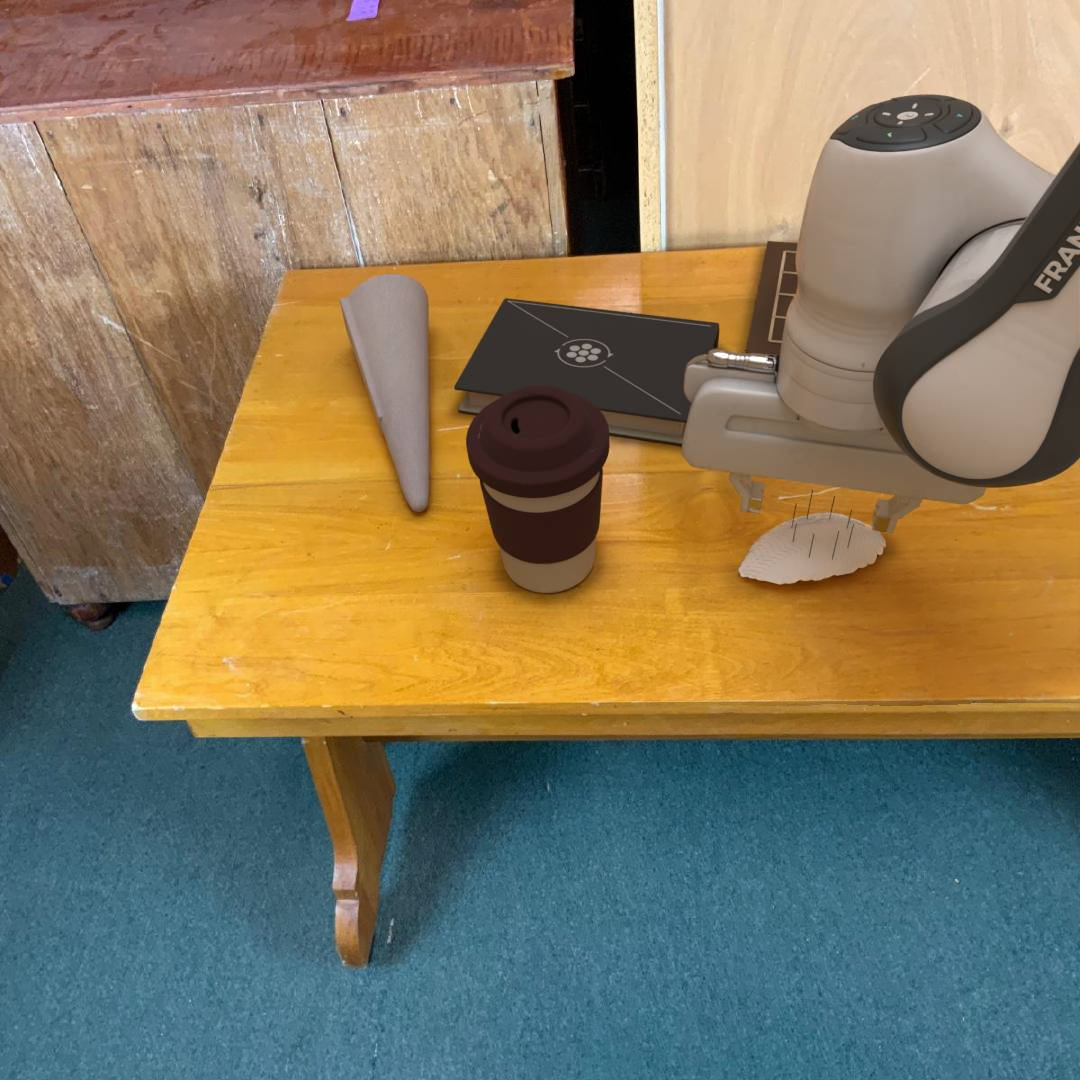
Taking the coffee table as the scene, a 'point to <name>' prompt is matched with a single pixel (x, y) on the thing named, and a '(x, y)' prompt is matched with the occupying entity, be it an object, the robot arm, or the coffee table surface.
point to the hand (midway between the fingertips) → (815, 516)
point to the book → (592, 363)
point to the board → (773, 298)
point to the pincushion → (812, 549)
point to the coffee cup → (541, 482)
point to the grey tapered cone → (395, 371)
